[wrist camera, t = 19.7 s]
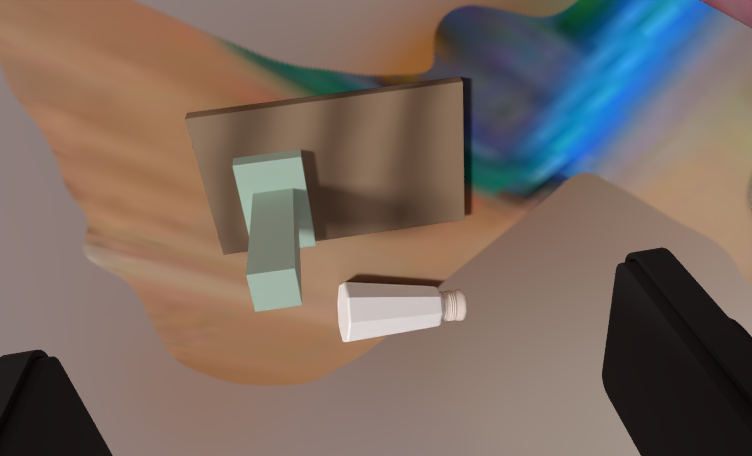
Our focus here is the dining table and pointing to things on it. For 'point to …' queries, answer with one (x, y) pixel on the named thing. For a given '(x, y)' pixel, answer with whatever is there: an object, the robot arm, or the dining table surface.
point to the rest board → (344, 157)
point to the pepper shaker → (394, 309)
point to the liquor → (734, 9)
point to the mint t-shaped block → (275, 225)
